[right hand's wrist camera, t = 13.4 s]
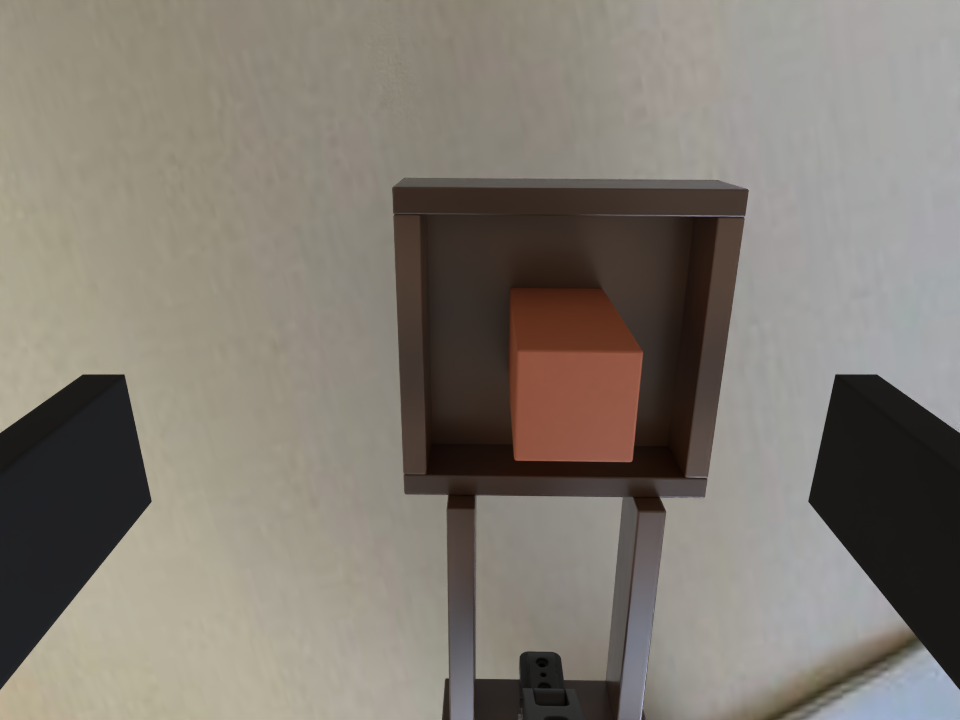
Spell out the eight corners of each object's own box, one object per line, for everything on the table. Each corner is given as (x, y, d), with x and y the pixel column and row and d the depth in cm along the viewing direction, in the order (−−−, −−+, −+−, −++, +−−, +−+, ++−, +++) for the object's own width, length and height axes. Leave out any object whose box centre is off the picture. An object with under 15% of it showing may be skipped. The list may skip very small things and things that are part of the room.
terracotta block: (509, 287, 29) (517, 349, 21) (603, 288, 29) (643, 351, 21) (507, 374, 30) (514, 461, 23) (597, 375, 30) (633, 463, 22)
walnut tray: (403, 178, 28) (388, 189, 23) (718, 179, 28) (759, 192, 23) (420, 689, 37) (411, 762, 33) (653, 692, 37) (674, 766, 33)
